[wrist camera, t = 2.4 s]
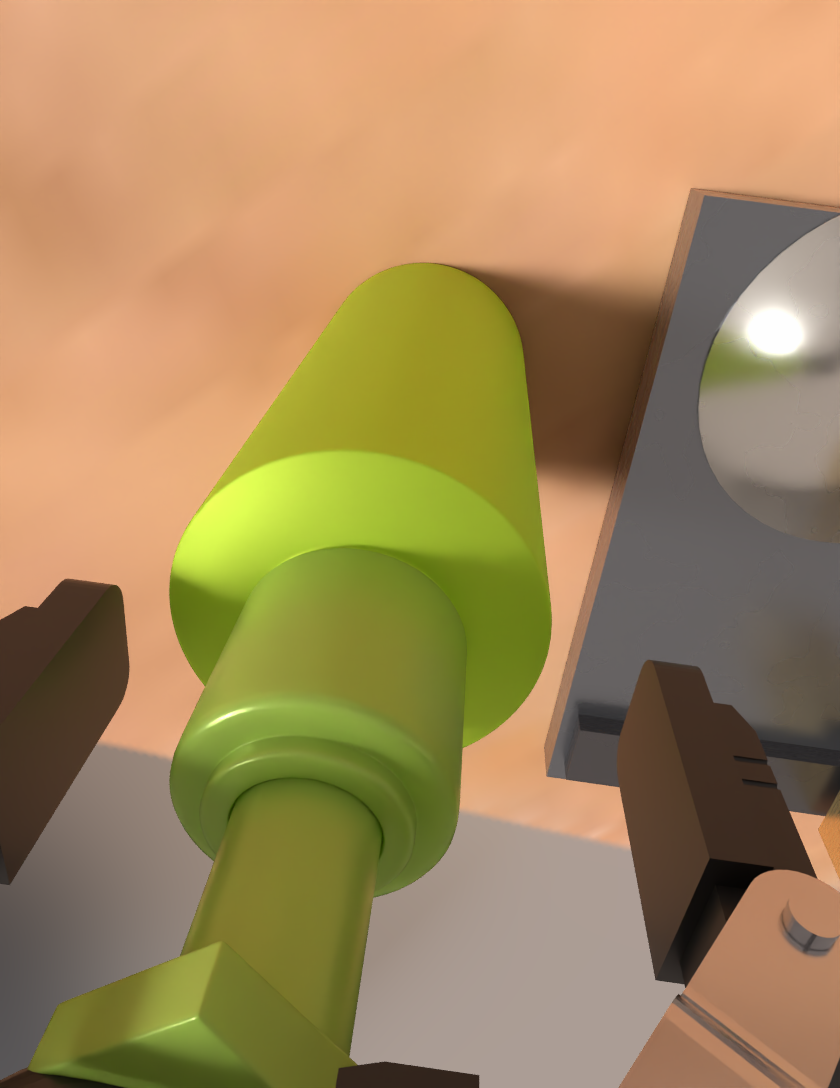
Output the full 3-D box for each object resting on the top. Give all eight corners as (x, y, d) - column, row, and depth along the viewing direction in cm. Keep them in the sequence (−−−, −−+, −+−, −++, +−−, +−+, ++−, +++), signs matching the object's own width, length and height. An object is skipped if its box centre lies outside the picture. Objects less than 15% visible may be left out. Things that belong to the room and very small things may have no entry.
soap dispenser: (419, 513, 26) (267, 1374, 9) (285, 338, 23) (-318, 1064, 6) (578, 420, 24) (800, 1308, 6) (451, 218, 21) (261, 796, 4)
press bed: (700, 153, 20) (722, 161, 18) (1256, 225, 20) (1341, 240, 18) (544, 747, 30) (547, 793, 28) (905, 797, 30) (933, 847, 28)
